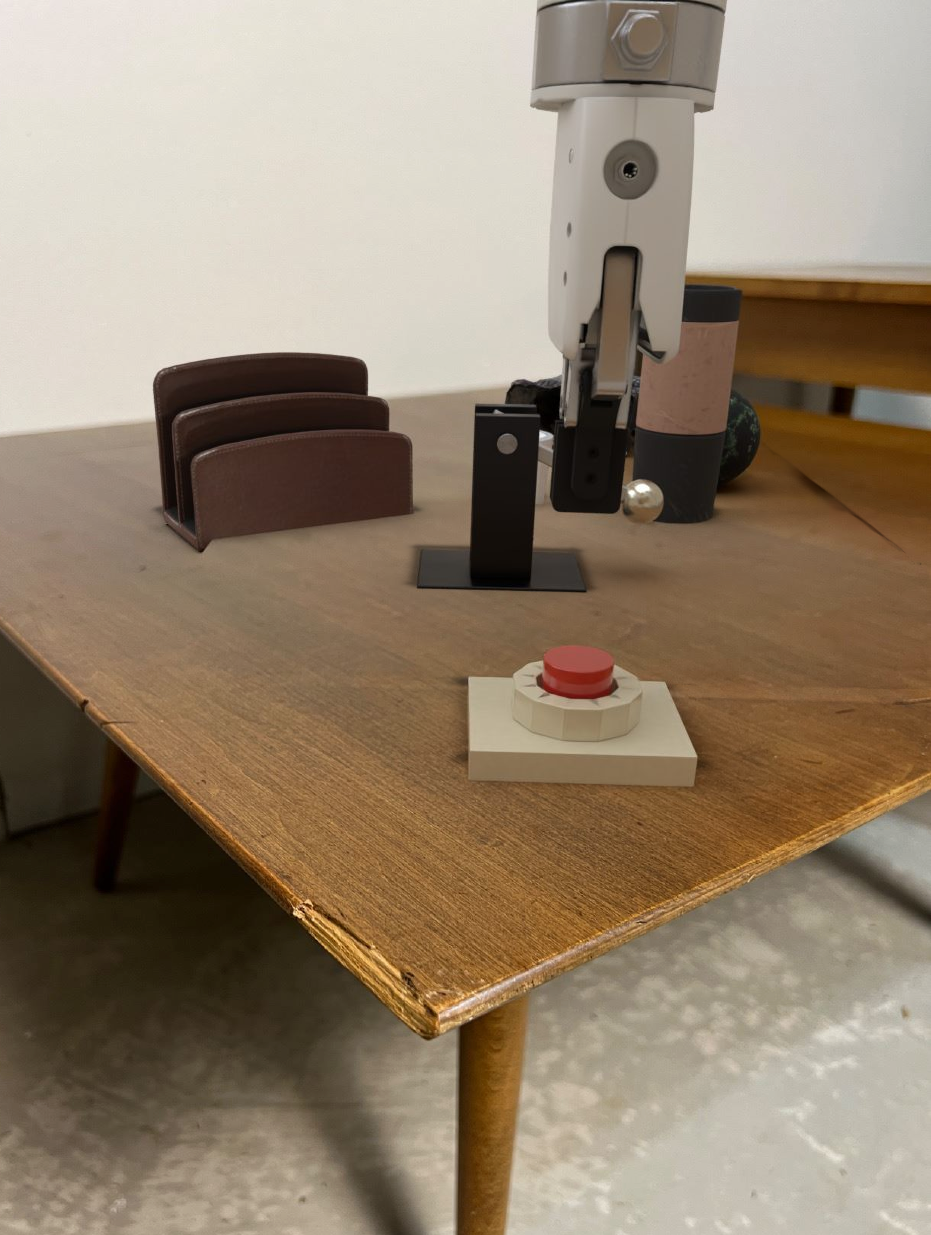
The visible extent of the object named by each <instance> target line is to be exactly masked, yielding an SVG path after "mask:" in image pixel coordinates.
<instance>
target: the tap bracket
mask: <svg viewBox="0 0 931 1235" xmlns="http://www.w3.org/2000/svg"><path fill="white" fill-rule="evenodd" d="M494 410H498V411H500V412H502V413H504V414H493V412H494ZM536 410H537V407H536V405H524V404H505V403H475V404H474V417H473V418H474V421H473V422H474V423H473V450H472V478H471V508H470V535H469V536H470V540H469V543H470V544H469V549H435V548H434V549H433V548H431V549H430V548H427V549H426V548H422V549H420V554H419V555H420V556H419V565H418V574H417V581H416V582H417V583H416V589H418V590H421V589H422V590H456V591H457V590H459V591H460V590H462V591H505V592H540V593H541V592H544V593H545V592H547V593H549V592H550V593H583V594H584V593H587V588H586V585H585V582H584V580H583V579H584V578H583V576H582V573H581V569H580V567H579V565H578V561H577V558H576V555H575V553H574V552H568V551H566V552H564V551H561V552H560V551H533V549H534V536H535V535H534V534H535V533H534V532H535V516H536V505H535V502H536V485H537V468H538V451H539V435H540V415H539V414H536Z"/></svg>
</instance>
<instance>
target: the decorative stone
mask: <svg viewBox="0 0 931 1235" xmlns="http://www.w3.org/2000/svg"><path fill="white" fill-rule="evenodd" d="M725 431H726V433H725V439H724V446H723V452H722V458H721V464H720V471H719V477H718V483H717V487H720V486H721V485H722V486H723V485H725V484H727V483H729V482H732V481H733V480H735V479H737V478H738V477H739V476H741V475H742V474H743V473H744V472H745V471H746V470H747V469H748V468H749V466H750V465H751V464H752V462H753V461H754V459H755V457H756V455H757V453H758V450H759V447H760V443H761V435H762V434H761V433H762V432H761V424H760V420H759V416H758V414H757V412H756V409H755V407H754V406H753V405H752V403H751V401H750V400H748V399H747V398H746V396H744V395H743V394H742V393H740V392H738V391H737V390H735V389H733V388H731V392H730V400H729V409H728V417H727V426H726V430H725Z"/></svg>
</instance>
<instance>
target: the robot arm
mask: <svg viewBox="0 0 931 1235" xmlns="http://www.w3.org/2000/svg"><path fill="white" fill-rule="evenodd" d="M727 4H728V0H536V14H535V23H534V25H535V26H534V40H533V41H534V42H533V43H534V44H533V55H532V71H531V72H532V74H531V89H530V90H531V91H530V100H529V101H530V102H529V106H530V107H531V109H536V110H538V111H543V112H544V111H545V112H551V113H557V121H556V122H557V123H556V135H555V147H554V161H553V177H552V191H551V208H550V223H549V241H548V244H549V245H548V246H549V247H548V270H547V271H548V272H547V274H548V275H547V331H548V337H549V340H550V341H551V343H552V344H553V345H554V347H555V348H556V350H558V352H560V353H561V354H562V367H561V369H562V370H561V374H562V383H561V398H560V419H564V420H556V421H555V434H554V447H553V448H552V450H553V459H552V467H551V472H550V486H549V500H550V503H551V506H552V508H553V510H554V511H555V512H557V513H572V514H573V513H575V514H598V515H599V514H600V515H614V514H616V513H618V512H619V511H620V505H621V495H622V486H623V484H624V474H625V467H626V457H627V455H626V448H627V439H628V430H629V428H628V427H626V426H627V420H628V413H629V405H630V397H631V390H632V382H633V376H634V372H635V370H636V360H637V359H636V358H637V350H638V352H641V353H642V355H643V354H644V355H646V356H647V357H648V358H650V359H651V360H653V361H654V362H655V363H657V364H667V363H668V362H669V361H671V360H672V359H673V358H674V357H675V356H676V354H677V353H678V350H679V343H680V333H681V321H682V309H683V297H684V285H685V284H686V272H687V260H688V246H689V236H690V235H689V234H690V223H691V211H692V210H691V209H692V197H693V181H694V180H693V179H694V161H695V160H694V157H695V114H696V113H700V114H703V113H708V112H711V111H713V110H714V108H715V100H716V93H717V86H718V78H719V69H720V62H721V54H722V45H723V38H724V29H725V23H726V22H725V21H726V16H725V14H726V11H727Z"/></svg>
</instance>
